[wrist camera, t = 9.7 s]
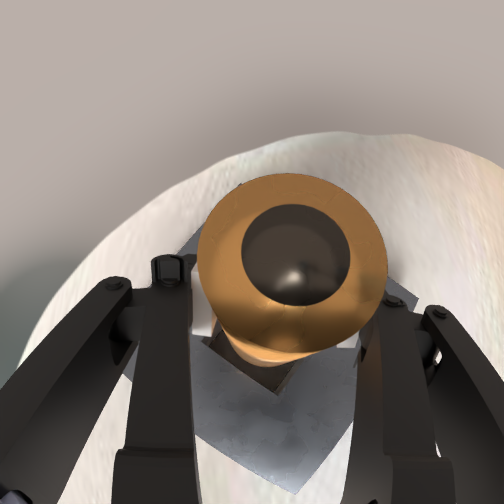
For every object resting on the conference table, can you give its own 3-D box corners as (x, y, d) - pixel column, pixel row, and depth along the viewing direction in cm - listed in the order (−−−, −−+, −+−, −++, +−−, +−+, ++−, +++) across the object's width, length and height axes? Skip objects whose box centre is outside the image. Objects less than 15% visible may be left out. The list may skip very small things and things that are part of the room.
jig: (241, 207, 29) (240, 183, 25) (397, 309, 25) (418, 298, 21) (119, 354, 23) (99, 349, 19) (288, 478, 19) (295, 494, 15)
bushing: (258, 276, 20) (270, 147, 9) (320, 318, 19) (412, 233, 8) (212, 336, 18) (156, 271, 7) (276, 382, 17) (327, 393, 6)
